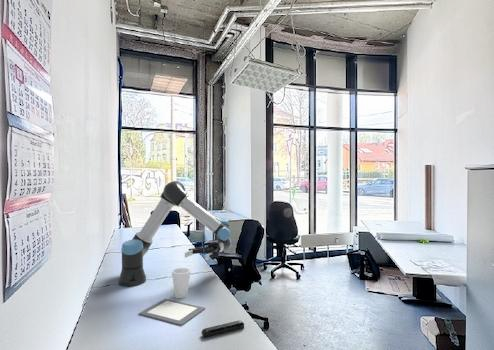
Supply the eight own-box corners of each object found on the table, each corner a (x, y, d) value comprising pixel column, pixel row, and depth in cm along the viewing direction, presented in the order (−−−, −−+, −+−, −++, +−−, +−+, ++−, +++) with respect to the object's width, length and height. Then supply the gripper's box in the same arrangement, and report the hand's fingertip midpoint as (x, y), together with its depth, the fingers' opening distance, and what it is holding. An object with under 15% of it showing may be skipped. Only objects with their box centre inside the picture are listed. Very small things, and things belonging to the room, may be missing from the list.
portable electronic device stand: (203, 339, 124) (203, 331, 124) (201, 336, 126) (201, 328, 126) (244, 329, 132) (244, 322, 132) (241, 326, 134) (241, 319, 134)
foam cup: (194, 294, 167) (194, 269, 167) (182, 300, 159) (182, 274, 159) (180, 290, 172) (180, 267, 172) (168, 296, 164) (168, 271, 164)
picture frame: (138, 314, 144) (138, 312, 144) (165, 299, 160) (165, 298, 160) (181, 325, 134) (181, 324, 134) (205, 309, 150) (205, 307, 150)
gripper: (233, 256, 191) (214, 266, 172) (198, 251, 201) (177, 260, 182) (233, 243, 191) (214, 252, 171) (198, 239, 201) (177, 247, 182)
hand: (195, 256), depth 177 cm, fingers open, 13 cm apart
